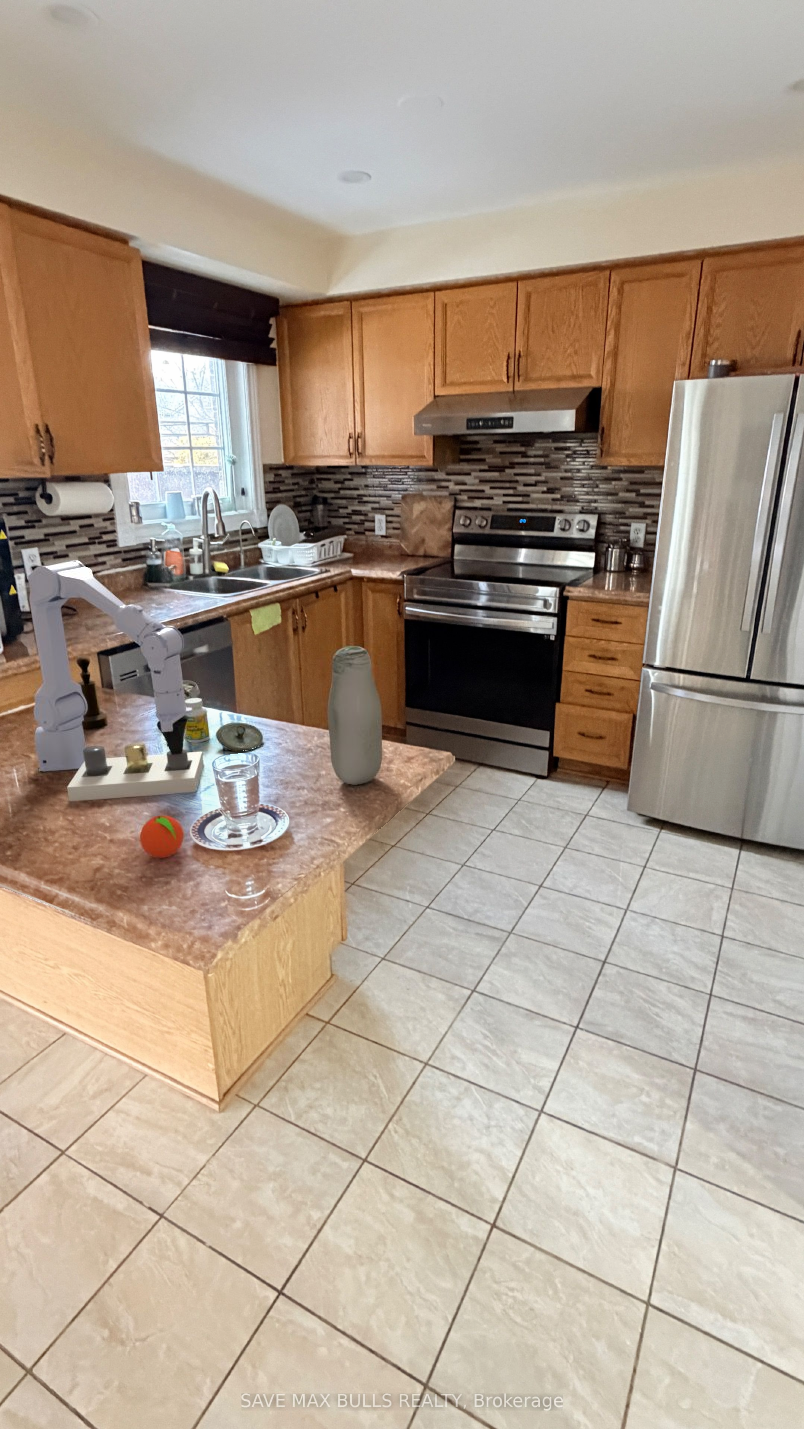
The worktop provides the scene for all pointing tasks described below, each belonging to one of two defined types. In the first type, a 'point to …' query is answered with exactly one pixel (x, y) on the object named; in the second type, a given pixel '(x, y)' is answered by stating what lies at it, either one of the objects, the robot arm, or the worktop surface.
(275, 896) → the worktop surface
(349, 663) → the grey bottle
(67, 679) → the robot arm
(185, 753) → the knob
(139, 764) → the knob middle
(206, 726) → the supplement bottle
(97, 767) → the knob
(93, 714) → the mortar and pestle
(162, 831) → the clementine
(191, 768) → the housing
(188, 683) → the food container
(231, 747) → the lid
